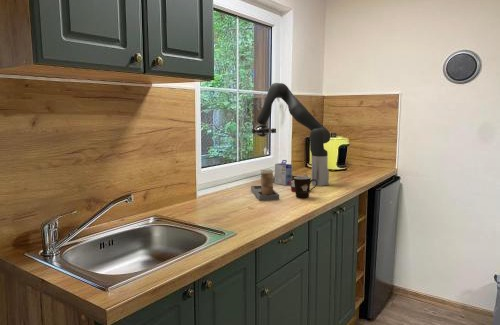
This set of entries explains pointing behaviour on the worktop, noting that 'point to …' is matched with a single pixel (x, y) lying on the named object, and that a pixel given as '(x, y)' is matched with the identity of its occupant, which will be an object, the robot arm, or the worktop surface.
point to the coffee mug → (303, 186)
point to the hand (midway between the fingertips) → (266, 131)
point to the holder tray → (257, 193)
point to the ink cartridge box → (283, 173)
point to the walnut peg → (267, 182)
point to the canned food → (293, 186)
